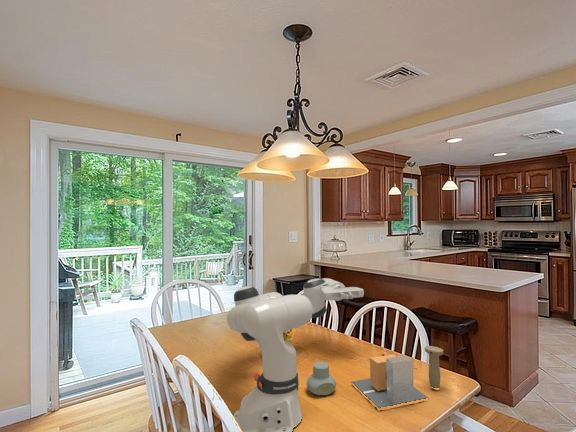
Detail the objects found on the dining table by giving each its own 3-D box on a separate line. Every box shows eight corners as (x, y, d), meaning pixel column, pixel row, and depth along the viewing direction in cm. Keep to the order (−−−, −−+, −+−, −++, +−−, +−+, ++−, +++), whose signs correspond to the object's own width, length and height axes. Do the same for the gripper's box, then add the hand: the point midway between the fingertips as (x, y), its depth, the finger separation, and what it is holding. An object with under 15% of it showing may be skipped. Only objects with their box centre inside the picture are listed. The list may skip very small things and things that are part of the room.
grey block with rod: (393, 404, 111) (393, 363, 111) (369, 383, 126) (368, 346, 126) (413, 400, 113) (412, 359, 114) (387, 380, 128) (386, 344, 129)
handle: (428, 383, 127) (428, 344, 128) (446, 389, 123) (445, 349, 123) (423, 388, 124) (422, 348, 124) (440, 394, 119) (440, 353, 120)
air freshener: (311, 399, 117) (311, 371, 117) (303, 388, 125) (303, 362, 125) (339, 394, 120) (339, 367, 120) (330, 384, 128) (329, 358, 128)
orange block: (377, 390, 119) (377, 363, 119) (370, 384, 123) (370, 357, 124) (401, 386, 122) (400, 359, 122) (393, 380, 126) (392, 354, 127)
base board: (378, 411, 109) (378, 407, 109) (351, 384, 128) (351, 381, 128) (428, 400, 115) (428, 397, 115) (395, 376, 133) (395, 373, 133)
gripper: (355, 295, 161) (370, 302, 148) (317, 299, 155) (329, 306, 142) (355, 282, 161) (370, 288, 148) (316, 285, 155) (328, 291, 142)
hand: (350, 297), depth 145 cm, fingers closed
